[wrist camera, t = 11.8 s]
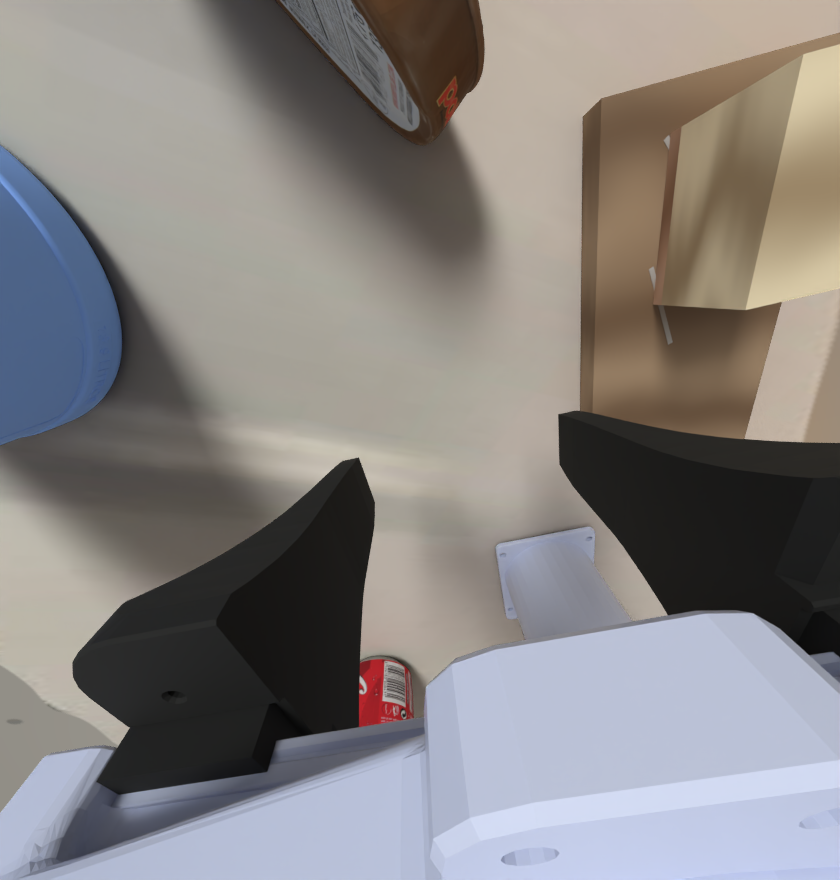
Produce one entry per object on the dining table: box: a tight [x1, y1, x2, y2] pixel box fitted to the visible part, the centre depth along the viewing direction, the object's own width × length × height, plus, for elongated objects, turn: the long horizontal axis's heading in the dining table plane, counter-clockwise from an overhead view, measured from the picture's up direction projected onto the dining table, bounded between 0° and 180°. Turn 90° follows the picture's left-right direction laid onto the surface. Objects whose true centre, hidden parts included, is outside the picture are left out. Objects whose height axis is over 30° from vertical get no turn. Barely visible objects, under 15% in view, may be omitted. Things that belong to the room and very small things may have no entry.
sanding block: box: [653, 44, 840, 310], centre depth 13 cm, size 7×4×5 cm, turn 13°
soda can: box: [359, 656, 414, 727], centre depth 28 cm, size 7×7×12 cm
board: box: [580, 33, 840, 439], centre depth 18 cm, size 20×10×2 cm, turn 13°
